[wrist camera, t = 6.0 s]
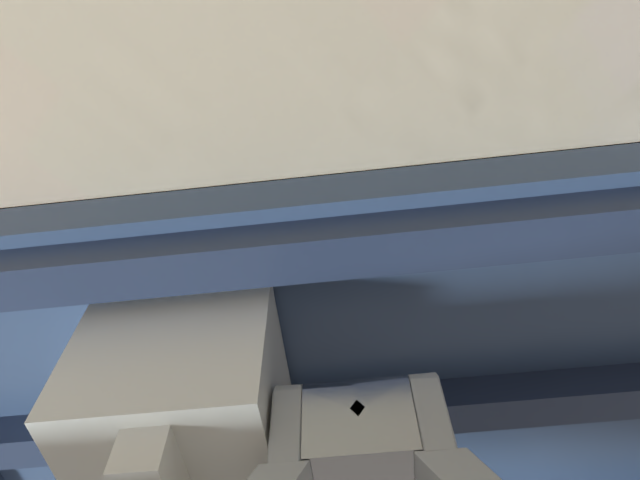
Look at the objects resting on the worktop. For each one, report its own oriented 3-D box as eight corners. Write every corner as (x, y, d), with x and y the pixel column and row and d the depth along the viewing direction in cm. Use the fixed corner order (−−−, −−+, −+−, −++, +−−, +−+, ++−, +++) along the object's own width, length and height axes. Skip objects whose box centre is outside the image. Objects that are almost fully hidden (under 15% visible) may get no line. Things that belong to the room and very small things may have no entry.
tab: (270, 278, 11) (252, 449, 8) (291, 385, 13) (283, 566, 9) (93, 295, 11) (-2, 468, 8) (135, 398, 13) (71, 581, 9)
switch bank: (940, 111, 11) (1058, 152, 9) (727, 546, 19) (769, 612, 17) (-240, 233, 12) (-332, 290, 10) (29, 594, 20) (2, 660, 18)
